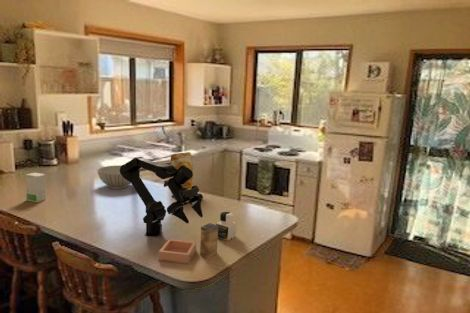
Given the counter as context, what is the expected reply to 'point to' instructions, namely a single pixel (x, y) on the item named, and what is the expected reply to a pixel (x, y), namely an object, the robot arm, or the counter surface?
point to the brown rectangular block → (209, 240)
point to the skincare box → (35, 187)
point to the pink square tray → (177, 251)
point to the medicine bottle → (226, 226)
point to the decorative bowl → (112, 177)
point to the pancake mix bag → (181, 160)
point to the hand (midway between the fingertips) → (195, 219)
